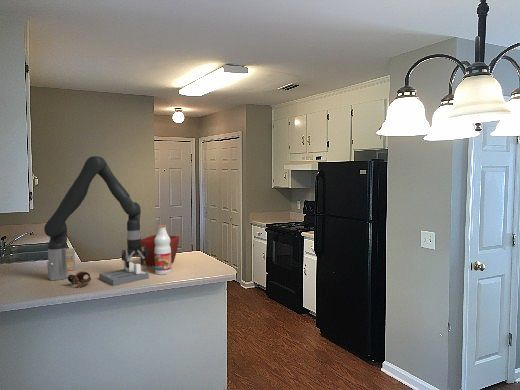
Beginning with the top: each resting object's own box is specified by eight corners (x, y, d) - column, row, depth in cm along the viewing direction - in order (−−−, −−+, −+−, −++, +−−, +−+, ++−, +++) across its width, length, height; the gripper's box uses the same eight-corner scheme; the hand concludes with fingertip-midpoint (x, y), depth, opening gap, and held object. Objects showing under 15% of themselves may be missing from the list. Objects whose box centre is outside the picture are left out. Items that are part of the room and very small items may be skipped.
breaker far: (126, 270, 240) (125, 261, 240) (123, 269, 242) (123, 260, 242) (130, 269, 242) (130, 260, 241) (128, 268, 244) (127, 259, 244)
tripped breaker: (129, 272, 235) (129, 263, 234) (127, 271, 237) (126, 262, 237) (133, 271, 236) (133, 262, 236) (131, 270, 239) (131, 261, 238)
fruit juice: (174, 271, 248) (173, 224, 246) (165, 275, 239) (163, 226, 237) (161, 270, 252) (160, 223, 250) (151, 274, 243) (150, 225, 241)
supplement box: (59, 271, 252) (58, 250, 251) (60, 269, 257) (59, 248, 256) (74, 270, 254) (73, 249, 253) (75, 268, 259) (74, 247, 258)
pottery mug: (92, 282, 229) (93, 271, 225) (87, 295, 221) (89, 283, 217) (68, 278, 226) (70, 267, 223) (63, 291, 218) (64, 279, 214)
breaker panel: (113, 285, 220) (113, 280, 220) (99, 278, 235) (99, 273, 234) (148, 278, 234) (148, 273, 234) (133, 272, 248) (133, 267, 248)
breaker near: (136, 274, 231) (136, 265, 230) (134, 273, 233) (133, 264, 232) (140, 273, 232) (140, 264, 232) (138, 272, 234) (138, 263, 234)
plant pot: (166, 269, 255) (165, 241, 254) (138, 267, 260) (137, 240, 258) (180, 261, 273) (179, 236, 272) (154, 260, 278) (153, 235, 277)
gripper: (124, 240, 229) (125, 270, 231) (148, 237, 239) (149, 265, 240) (118, 238, 235) (120, 267, 236) (142, 235, 244) (143, 263, 246)
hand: (135, 266), depth 238 cm, fingers open, 8 cm apart
